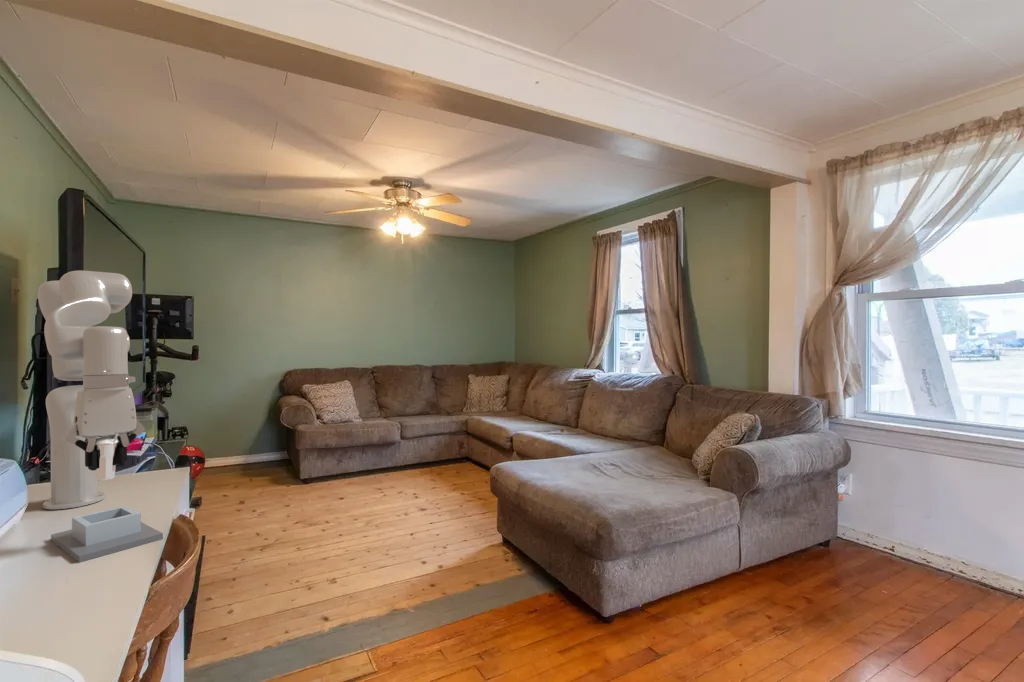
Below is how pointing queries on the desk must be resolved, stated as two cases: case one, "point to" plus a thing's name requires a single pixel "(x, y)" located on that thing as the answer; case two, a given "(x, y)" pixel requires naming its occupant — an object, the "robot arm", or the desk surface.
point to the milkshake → (106, 457)
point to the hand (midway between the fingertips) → (106, 466)
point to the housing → (105, 533)
